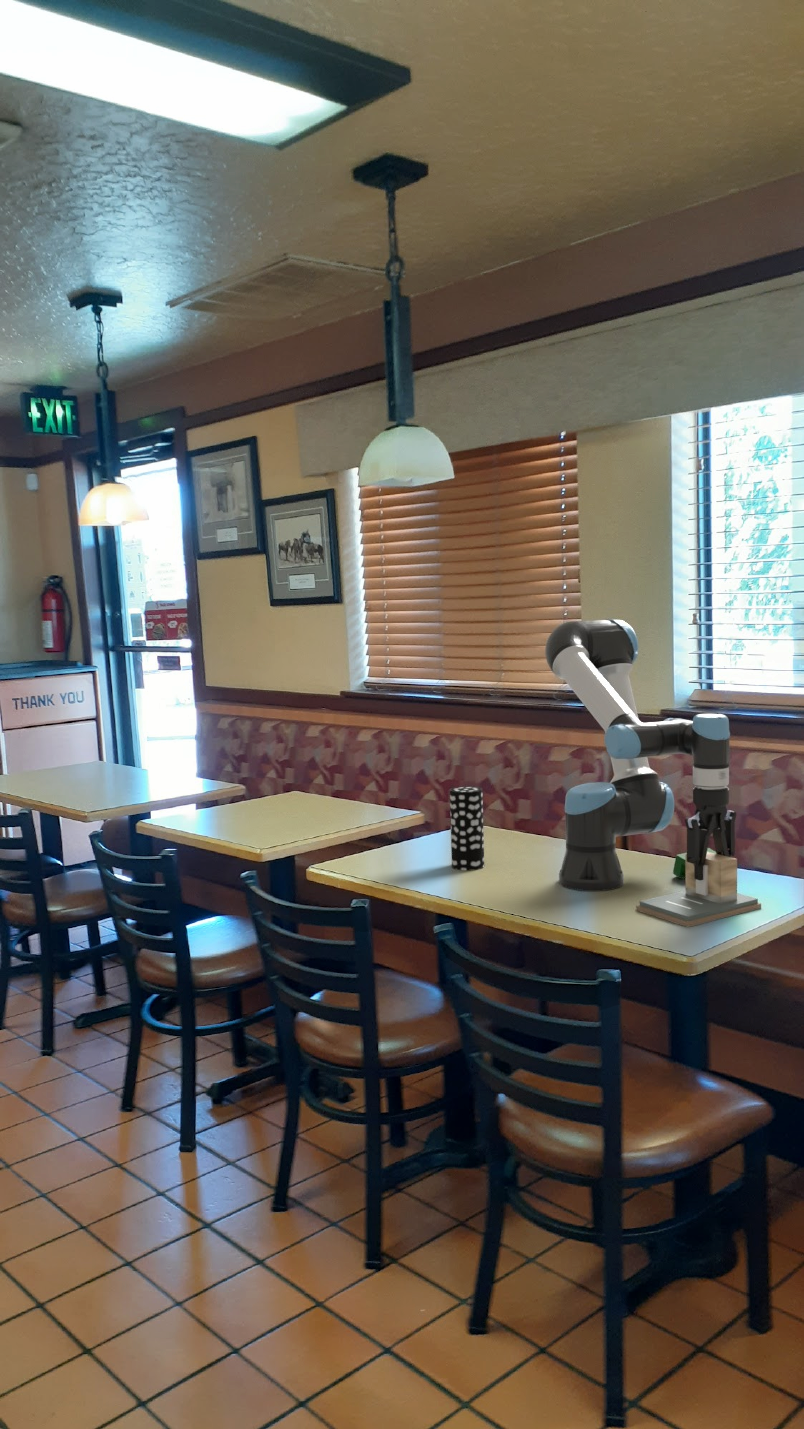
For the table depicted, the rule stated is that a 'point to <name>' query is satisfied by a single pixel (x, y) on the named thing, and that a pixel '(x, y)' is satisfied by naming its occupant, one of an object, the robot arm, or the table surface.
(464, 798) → the white-spotted black cylinder
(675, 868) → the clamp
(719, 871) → the wooden block
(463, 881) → the table surface
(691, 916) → the slate board
